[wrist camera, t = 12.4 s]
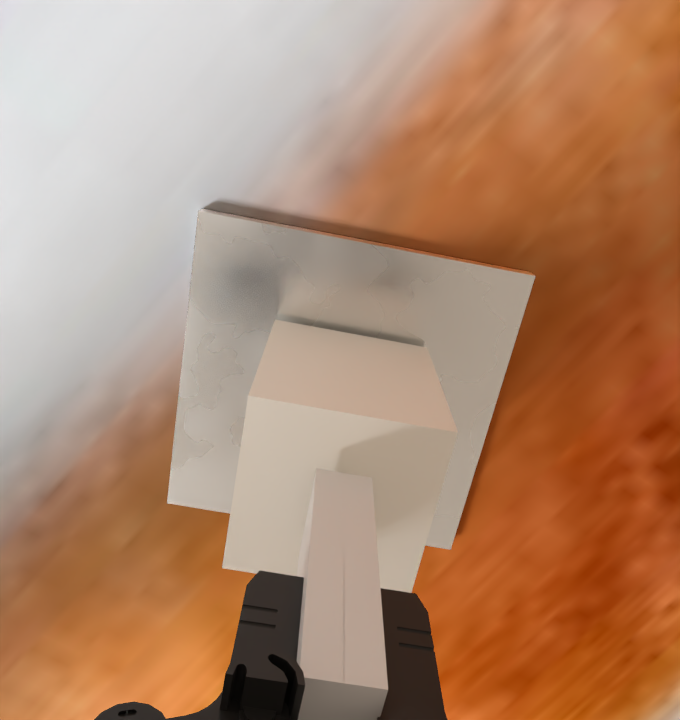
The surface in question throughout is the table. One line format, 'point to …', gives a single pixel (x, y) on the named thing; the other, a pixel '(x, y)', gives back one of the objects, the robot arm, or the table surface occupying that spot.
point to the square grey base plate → (340, 313)
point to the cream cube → (339, 445)
